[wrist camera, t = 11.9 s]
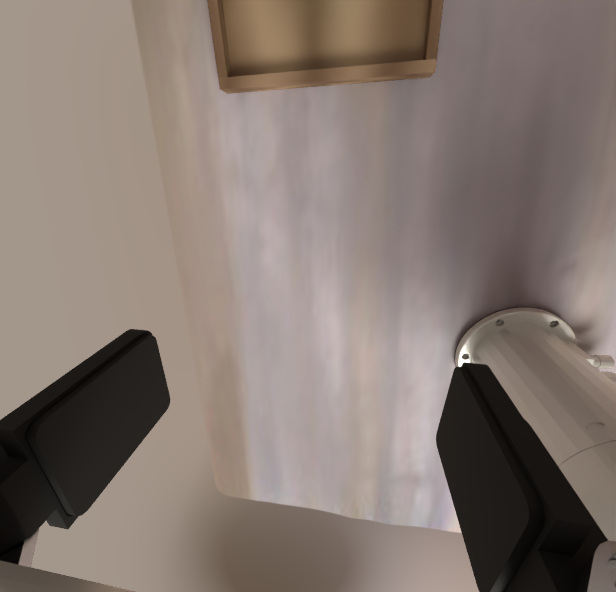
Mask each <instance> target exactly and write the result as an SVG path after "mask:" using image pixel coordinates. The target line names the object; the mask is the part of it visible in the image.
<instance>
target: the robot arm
mask: <svg viewBox="0 0 616 592" xmlns="http://www.w3.org/2000/svg"><path fill="white" fill-rule="evenodd" d="M455 363H456V368H455V369H454V372H453V376H452V379H451V383H450V387H449V390H448V394H447V398H446V401H445V405H444V409H443V412H442V416H441V420H440V423H439V427H438V431H437V435H436V443H437V448H438V452H439V455H440V459H441V462H442V465H443V469H444V472H445V476H446V479H447V483H448V486H449V490H450V493H451V497H452V500H453V504H454V507H455V510H456V514H457V517H458V521H459V524H460V528H461V531H462V535H463V538H464V542H465V545H466V549H467V552H468V555H469V559H470V562H471V566H472V569H473V572H474V576H475V580H476V583H477V586H478V589H479V591H480V592H616V374H614V373H612V372H600V371H599V370H598V369H597V368H608V369H609V368H613V367H614V359H613V358H612V357H611V356H608V355H593V356H591V355H588V354H586V353H585V352H584V351H583V350H581V349H580V348H579V347H578V346H577V340H576V337H575V334H574V332H573V331H572V329H571V328H570V326H569V325H568V324H567V323H565V322H564V321H563V320H562V319H560V318H559V317H557V316H556V315H554V314H553V313H550V312H548V311H545V310H542V309H536V308H521V307H520V308H513V309H507V310H503V311H500V312H496V313H494V314H492V315H490V316H487V317H485V318H484V319H482V320H480V321H479V322H477V323H476V324H475V325H474V326H472V327H471V328H470V329H469V330H468V331H467V332H466V334H465V335H464V336H463V337H462V339H461V341H460V343H459V344H458V347H457V350H456V354H455ZM169 404H170V395H169V391H168V387H167V383H166V378H165V374H164V370H163V366H162V362H161V358H160V353H159V349H158V345H157V341H156V338H155V337H154V336H152V333H151V332H149V331H145V330H135V329H130V330H128V331H126V332H125V333H123V334H122V335H120V336H119V337H118V338H116V339H115V340H113V341H112V342H110V343H109V344H108V345H106V346H105V347H103V348H102V349H100V350H99V351H98V352H96V353H95V354H93V355H92V356H91V357H89V358H88V359H86V360H85V361H83V362H82V363H81V364H79V365H78V366H76V367H75V368H74V369H72V370H71V371H69V372H68V373H67V374H65V375H64V376H62V377H61V378H60V379H58V380H57V381H55V382H54V383H52V384H51V385H49V386H48V387H47V388H45V389H44V390H42V391H41V392H40V393H38V394H37V395H35V396H34V397H33V398H31V399H30V400H28V401H27V402H25V403H24V404H23V405H21V406H20V407H18V408H17V409H15V410H14V411H13V412H11V413H10V414H8V415H7V416H5V417H4V418H3V419H1V420H0V592H134V591H130V590H125V589H121V588H117V587H113V586H108V585H104V584H100V583H96V582H91V581H87V580H83V579H78V578H74V577H69V576H65V575H61V574H56V573H52V572H48V571H43V570H39V569H34V568H31V564H32V559H33V555H34V550H35V545H36V541H37V536H38V531H39V527H40V526H41V525H42V524H43V523H44V522H45V521H46V520H47V522H48V524H49V525H50V526H55V527H60V528H64V529H69V527H70V526H71V525H72V524H73V523H74V521H75V520H76V519H77V517H78V516H80V515H83V514H84V513H85V512H86V511H87V510H88V509H89V508H90V507H91V505H92V504H93V503H94V502H95V500H96V499H97V498H98V497H99V495H100V494H101V493H102V491H103V490H104V489H105V488H106V486H107V485H108V483H110V481H111V480H112V479H113V477H114V476H115V475H116V474H117V472H118V471H119V470H120V469H121V467H122V466H123V465H124V463H125V462H126V461H127V460H128V458H129V457H130V456H131V455H132V453H133V452H134V451H135V450H136V448H137V447H138V445H139V444H140V443H141V442H142V441H143V439H144V438H145V437H146V436H147V434H148V433H149V432H150V431H151V429H152V428H153V427H154V426H155V424H156V423H157V422H158V420H159V419H160V418H161V417H162V415H163V414H164V413H165V412H166V410H167V409H168V407H169Z"/></svg>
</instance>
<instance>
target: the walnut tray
mask: <svg viewBox="0 0 616 592" xmlns="http://www.w3.org/2000/svg"><path fill="white" fill-rule="evenodd" d="M207 1H208V8H209V15H210V22H211V29H212V36H213V43H214V50H215V57H216V64H217V71H218V78H219V85H220V89H221V90H222V91H224V92H226V93H240V92H252V91H265V90H277V89H290V88H302V87H315V86H327V85H339V84H352V83H364V82H377V81H389V80H402V79H414V78H427V77H430V76H431V75H432V74H433V73H434V72H435V69H436V60H437V52H438V43H439V35H440V26H441V18H442V9H443V1H444V0H207Z"/></svg>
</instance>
